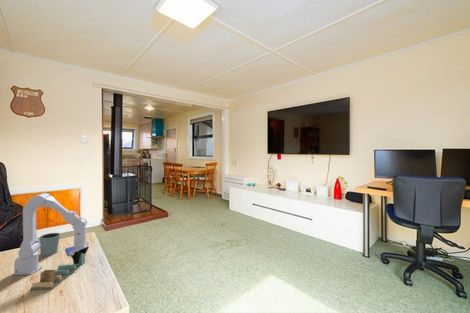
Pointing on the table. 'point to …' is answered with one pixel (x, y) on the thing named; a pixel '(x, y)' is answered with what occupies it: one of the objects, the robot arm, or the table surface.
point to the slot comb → (60, 275)
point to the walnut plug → (47, 276)
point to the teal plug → (81, 259)
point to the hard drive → (69, 250)
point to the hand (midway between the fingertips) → (79, 261)
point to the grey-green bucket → (49, 244)
